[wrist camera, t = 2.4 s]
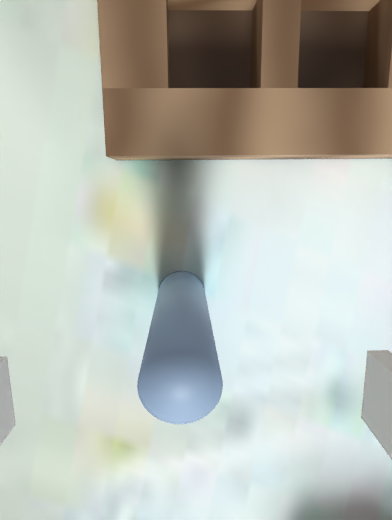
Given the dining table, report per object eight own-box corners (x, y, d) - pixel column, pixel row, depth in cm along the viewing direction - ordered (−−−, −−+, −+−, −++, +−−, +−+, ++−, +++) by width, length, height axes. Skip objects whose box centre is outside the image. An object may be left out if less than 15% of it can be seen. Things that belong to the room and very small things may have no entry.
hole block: (116, 160, 24) (106, 156, 20) (106, -55, 21) (92, -100, 18) (510, 157, 24) (561, 153, 21) (543, -51, 22) (607, -92, 19)
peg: (159, 315, 26) (139, 425, 14) (157, 271, 25) (135, 347, 13) (204, 315, 26) (222, 422, 14) (204, 270, 25) (222, 345, 14)
